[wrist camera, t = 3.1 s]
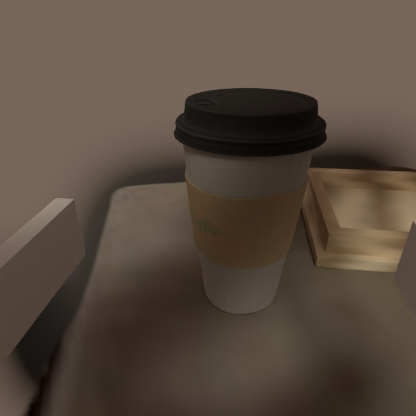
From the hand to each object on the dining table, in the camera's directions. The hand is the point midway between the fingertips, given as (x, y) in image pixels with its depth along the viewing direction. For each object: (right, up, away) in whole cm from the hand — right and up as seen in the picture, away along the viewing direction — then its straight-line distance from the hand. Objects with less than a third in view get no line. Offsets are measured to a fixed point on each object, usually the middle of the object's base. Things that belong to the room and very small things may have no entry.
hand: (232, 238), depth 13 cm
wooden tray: (+18, 0, +23) cm, 29 cm away
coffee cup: (+2, -5, +14) cm, 15 cm away
